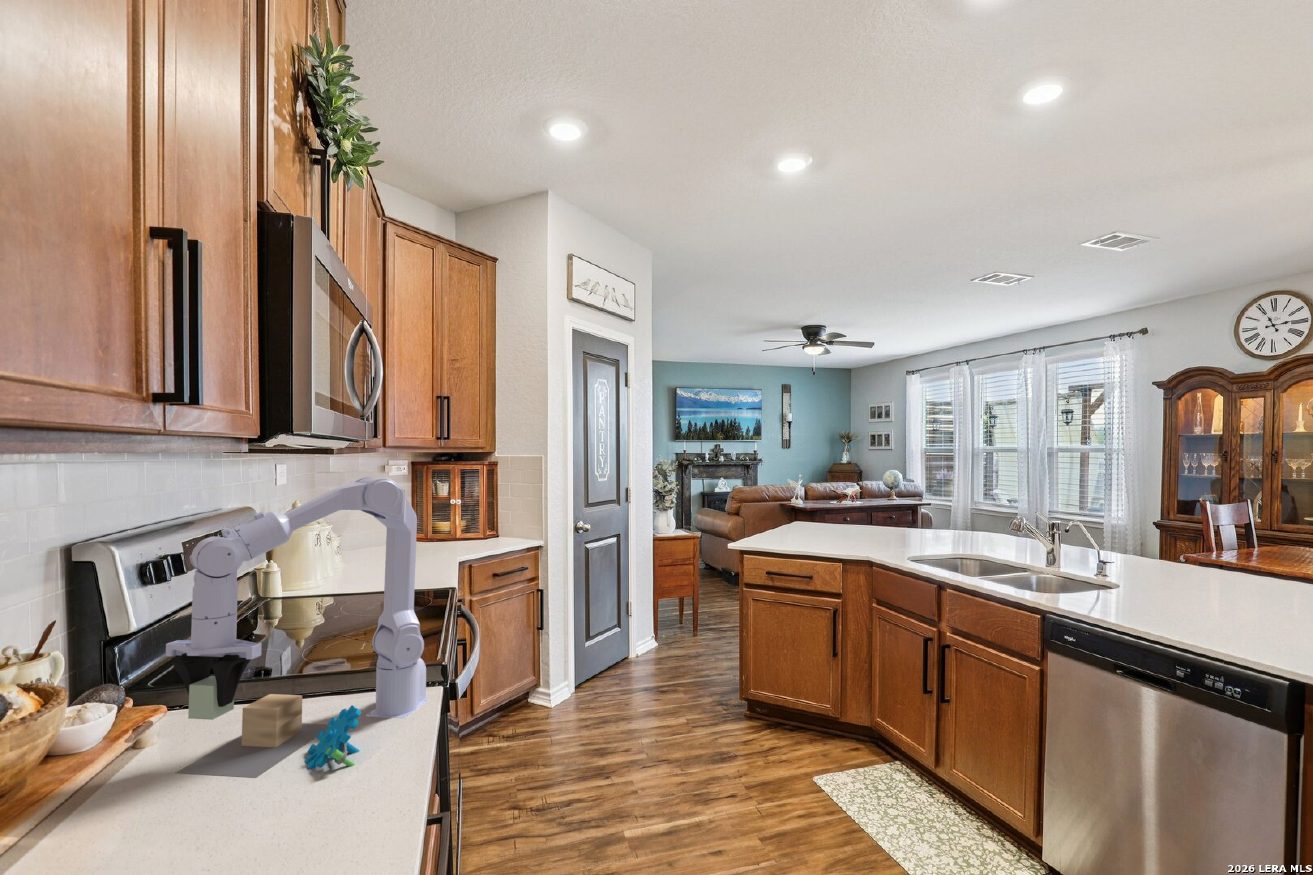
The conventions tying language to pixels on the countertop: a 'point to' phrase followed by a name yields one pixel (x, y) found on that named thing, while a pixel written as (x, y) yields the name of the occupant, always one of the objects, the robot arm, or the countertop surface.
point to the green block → (205, 700)
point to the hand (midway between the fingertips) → (212, 703)
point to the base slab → (271, 734)
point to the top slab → (272, 711)
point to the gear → (335, 740)
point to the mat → (250, 756)
